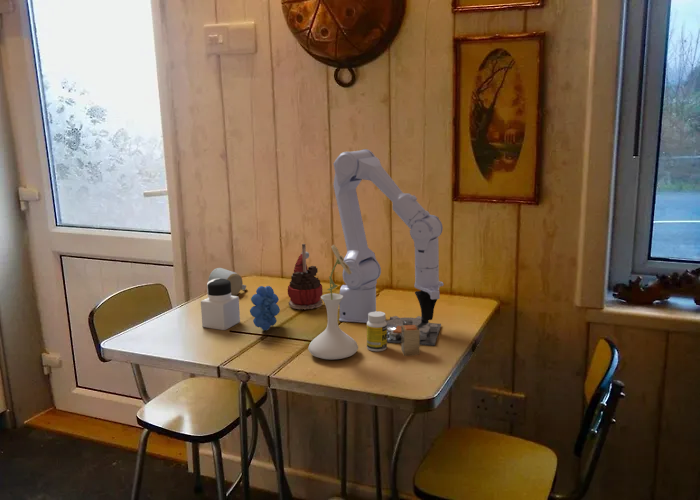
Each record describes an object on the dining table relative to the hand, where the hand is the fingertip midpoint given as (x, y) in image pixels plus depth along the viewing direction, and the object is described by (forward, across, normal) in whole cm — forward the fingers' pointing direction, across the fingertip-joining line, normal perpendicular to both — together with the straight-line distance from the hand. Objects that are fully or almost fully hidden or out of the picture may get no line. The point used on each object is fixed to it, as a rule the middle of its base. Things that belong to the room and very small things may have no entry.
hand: (427, 319), depth 161 cm
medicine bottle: (+2, +16, +51) cm, 53 cm away
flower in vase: (+3, -9, +25) cm, 26 cm away
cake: (+3, +27, +28) cm, 39 cm away
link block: (+3, -12, +8) cm, 15 cm away
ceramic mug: (+2, +45, +49) cm, 67 cm away
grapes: (+3, +9, +39) cm, 40 cm away
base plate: (+3, 0, +5) cm, 6 cm away
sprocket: (+3, 0, +5) cm, 6 cm away
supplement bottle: (+3, -8, +14) cm, 17 cm away
